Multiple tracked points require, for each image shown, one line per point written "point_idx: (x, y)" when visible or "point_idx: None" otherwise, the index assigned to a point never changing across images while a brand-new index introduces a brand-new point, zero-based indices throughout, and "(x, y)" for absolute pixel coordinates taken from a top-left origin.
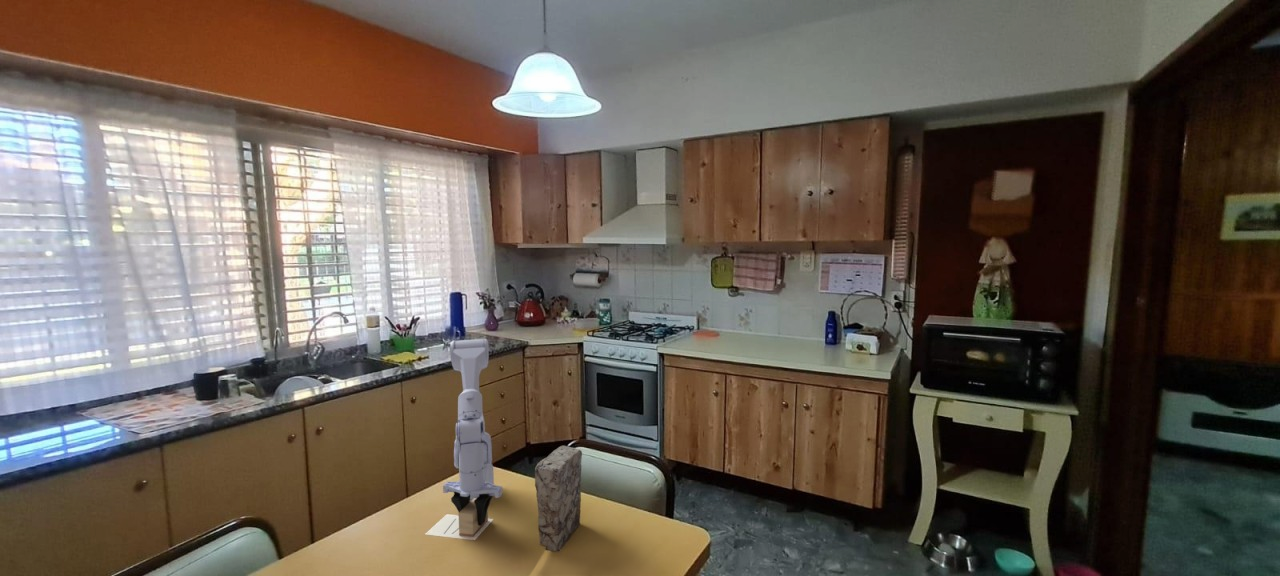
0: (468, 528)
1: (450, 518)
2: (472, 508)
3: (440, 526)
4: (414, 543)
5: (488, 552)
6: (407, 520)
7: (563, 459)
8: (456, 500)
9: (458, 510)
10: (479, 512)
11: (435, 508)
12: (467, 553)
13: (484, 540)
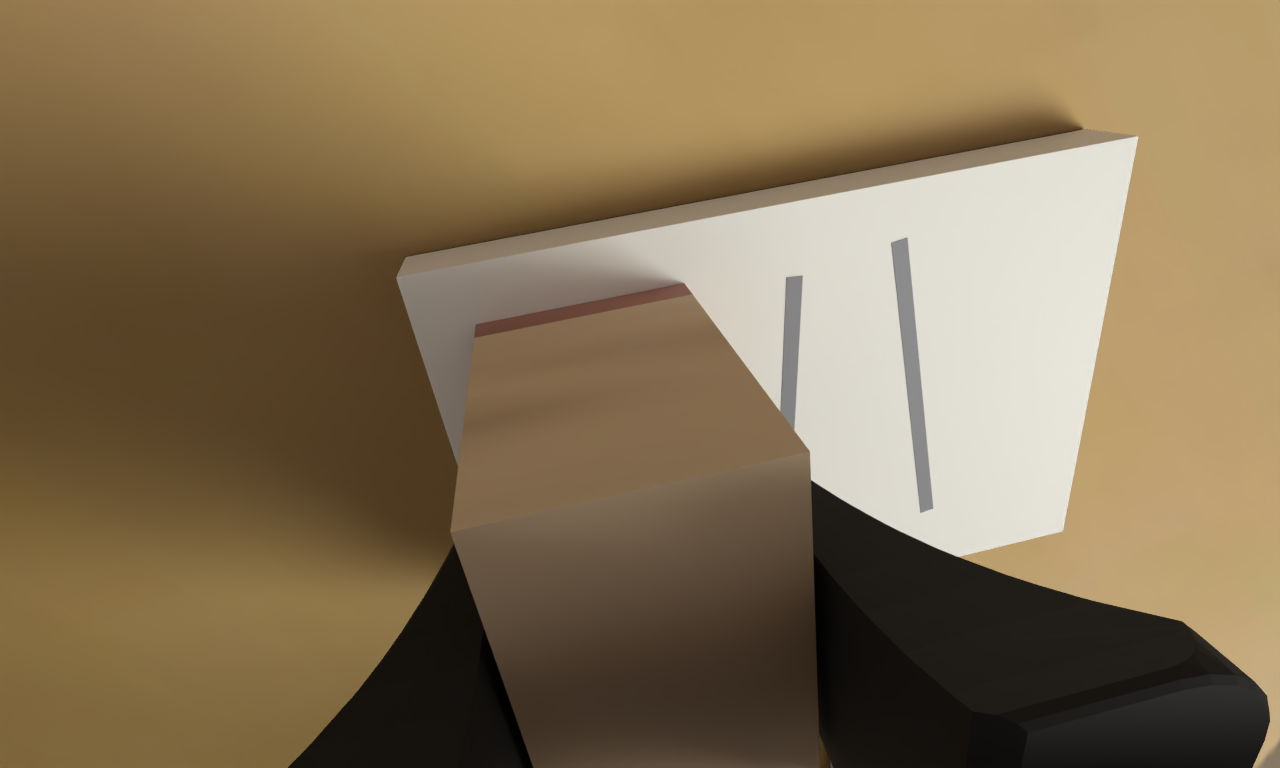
0: (547, 357)
1: (986, 494)
2: (630, 669)
3: (1021, 344)
4: (1171, 7)
5: (81, 189)
6: None
7: None
8: (1067, 699)
9: (885, 534)
10: (427, 647)
11: (1198, 564)
12: (348, 59)
13: (373, 375)
